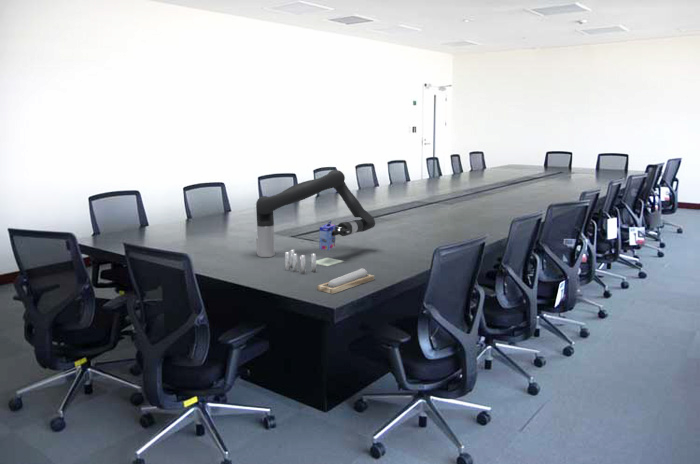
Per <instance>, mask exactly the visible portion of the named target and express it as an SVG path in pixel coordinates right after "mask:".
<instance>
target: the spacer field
mask: <svg viewBox="0 0 700 464" xmlns="http://www.w3.org/2000/svg"><path fill="white" fill-rule="evenodd" d="M299 258H300V274H302V275H305V274H306V273H307V271H306V270H307V269H306V254H300V257H299ZM316 260H317V253H315V252H314V253H311V254H310V264H311V265H310V266H311V269H310V270H311V273H317V264H316ZM284 266H285V267H284V268H285V269H284V270H286V271H290V270H291V268H292V272H293V273H298V272H299V271H298V269H299V267H298V253H297V252H296V249H293V248H291V249H290V250H289V251H284Z"/></svg>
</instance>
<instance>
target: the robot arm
mask: <svg viewBox="0 0 700 464" xmlns="http://www.w3.org/2000/svg"><path fill="white" fill-rule="evenodd" d="M345 179H346V177H345V174H344V172H343V171H341V170H339V169H332V170H330V171H329V172H328V173H327V174H326V175H323V176H321V177H318V178H315V179H309V180H306V181H302V182H299V183H296V184H294V185H292V186H289V187H288V188H286V189H285V190H283V191H281V192H279V193H277V194H274V195H269V196H267V195H262V196H260V197H258V198H257V200H256V203H255V205H256V206H255V208H256V210H255V211H256V212H255V214H256V229H257V231H256V232H257V238H256V255H257V256H258V257H260V258H271V257H275V256H276V255H275V253H276V252H275V250H276V249H275V222H274V211H276V210H279V209H281V208H282V207H284V206H288V205H291V204H296V203H297V202H301V201H304V200H307V199H308V198H311V197H312V196H316V195H317V194H319V193H321V192H324V191H327V190H329V189H333V188H334V190H335V191H336V192H337V193H338V195H339V196H340V197H341V199H342V201H343V202H344V204H345V205H346V207H347V208H348V210H349V211H350V214H352V217H354V218H360V219H353V220H348V221H343V222H339V223H338V224H337V225H336V231H333V232H332V236H335V237H336V236H340V237H346V236H350V235H354V234H356V233H361V232H366V231H368V230H371V229H373V228H374V227H375V225H376V220H375V218H374V216H373V215H372V214H370V213H369V212H368V211H367V210H366V209H365V208H364V207H363V206H362V204H361V202H360V201H359V200H358V199H357V197H356V196H355V195H354V194H353V193H352V191H351V190H350V189H349V187H348V186H347V184H346V182H345Z"/></svg>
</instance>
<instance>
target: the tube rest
mask: <svg viewBox="0 0 700 464" xmlns="http://www.w3.org/2000/svg"><path fill="white" fill-rule="evenodd" d="M374 280H375V275H373V274H368V276H367V277H364V278H361V279H358V280H355V281H352V282H349V283H346V284H343V285H340V286H337V287H334V288H330V287H328V283H329V282H330V281H326V282H324V283H321V284H318V285H317V286H316V287H317V289H316V290H317V291H319V292H320V291H321V292H324V293H328V294H331V295H333V294H336V293H339V292H340V293H341V292H342V291H344V290H347V289H348V290H349V289H351V288H354V287H357V286H360V285H363V284H366V283H368V282H371V281H374Z"/></svg>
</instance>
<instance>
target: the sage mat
mask: <svg viewBox="0 0 700 464" xmlns="http://www.w3.org/2000/svg"><path fill="white" fill-rule="evenodd" d="M341 263H344V260H340V259H335V258H332V257H325V258H320V259H316V266H324V267H330V266H334V265H338V264H341Z"/></svg>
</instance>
